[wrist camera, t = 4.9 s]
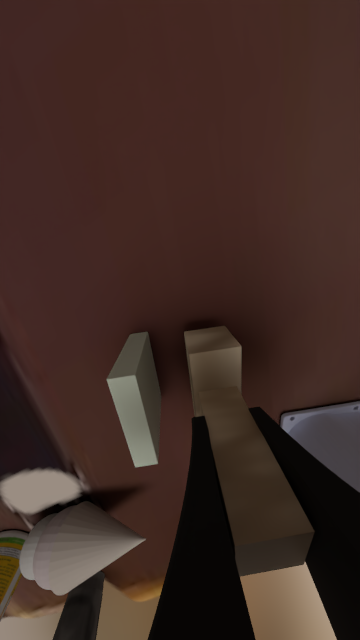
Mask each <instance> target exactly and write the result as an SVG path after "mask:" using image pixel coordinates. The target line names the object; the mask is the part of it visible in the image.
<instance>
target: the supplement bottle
mask: <svg viewBox="0 0 360 640" xmlns="http://www.w3.org/2000/svg"><path fill="white" fill-rule="evenodd" d="M28 535H29V534H27V533H25V532H22V531H17V530H9V531H4V532H0V621H1V618H2V616H3V614H4V612H5V610H6V608H7V606H8V604H9V601H10V599H11V597H12V595H13V593H14V591H15V589H16V586H17V584H18V582H19V580H20V578H21V576H22V573H21V570H20V565H19V560H20V554H21V550H22V547H23V545H24V542H25V540H26V538H27V537H28Z"/></svg>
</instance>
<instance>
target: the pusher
mask: <svg viewBox="0 0 360 640" xmlns="http://www.w3.org/2000/svg"><path fill="white" fill-rule="evenodd" d="M184 337H185V345H186V353H187V361H188V368H189V376H190V384H191V392H192V400H193V407H194V414H195V417H198V416H205V419H206V422H207V426H208V429H209V436H210V442H211V449H212V455H213V461H214V468H215V474H216V480H217V485H218V490H219V495H220V499H221V503H222V507H223V511H224V515H225V520H226V524H227V528H228V532H229V536H230V540H231V544H232V548H233V552H234V556H235V560H236V564H237V568H238V572H239V576H245V575H250V574H256V573H261V572H266V571H271V570H277V569H283V568H288V567H293V566H299V565H303V564H304V562H305V559H306V556H307V553H308V550H309V547H310V544H311V541H312V538H313V535H314V532H315V531H314V529H313V527H312V526H311V524H310V522H309V520H308V518H307V516H306V514H305V513H304V511H303V509H302V507H301V505H300V503H299V501H298V500H297V498H296V496H295V494H294V492H293V490H292V488H291V487H290V485H289V483H288V481H287V479H286V477H285V475H284V473H283V472H282V470H281V468H280V466H279V464H278V462H277V460H276V459H275V457H274V455H273V453H272V451H271V449H270V447H269V446H268V444H267V442H266V440H265V438H264V436H263V434H262V433H261V431H260V430H259V428H258V426H257V425H256V423H255V421H254V419H253V417H252V415H251V413H250V411H249V410H248V409H249V408H248V406H247V405H246V403H245V401H244V399H243V397H242V395H241V365H242V346H241V345H240V344H239V343H238V341H237V340H236V339H235V338H234V337H233V335H232V334H231V333H230V332H229V330H228V329H227V328H226V327H225V326H220V327H213V328H206V329H199V330H192V331H185V332H184Z"/></svg>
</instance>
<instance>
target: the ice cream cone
mask: <svg viewBox="0 0 360 640" xmlns="http://www.w3.org/2000/svg"><path fill="white" fill-rule="evenodd" d="M144 540H146V539H145V538H144V537H142V536H141V535H139V534H138V533H136V532H135V531H133V530H132V529H130V528H129V527H127V526H126V525H124V524H123V523H121V522H120V521H118V520H117V519H115V518H114V517H112V516H111V515H109V514H108V513H106V512H105V511H103V510H102V509H100V508H99V507H97V506H96V505H94V504H93V503H91V502H89V501H84V502H81V503H80V504H78V505H74V506H70V507H68V508H66V509H64V510H62V511H61V512H59V513H54V514H51V515H48V516H47V517H45V518H43V519H42V520H41V521H40V522H39V523H38V524H37V525H36V526H35V527H34V528H33V529H32V530H31V532H30V533H29V535H28V537H27V538H26V540H25V542H24V545H23V547H22V550H21V554H20V560H19V565H20V570H21V573H22V575H23V576H24V577H25V578H27V579H29V580H35V581H36V582H37V584H38V585H39V586H40V587H42V588H43V589H46V590H52V591H53V593H54V594H56V595H63V594H66V593H68V592H69V591H71V590H72V589H73V588H75V587H76V586H78V585H79V584H81V583H82V582H84V581H85V580H87V579H88V578H90V577H91V576H93V575H94V574H96V573H97V572H98V571H100V570H101V569H103V568H104V567H106V566H107V565H109V564H110V563H112V562H113V561H115V560H116V559H118V558H119V557H121V556H122V555H124V554H125V553H126V552H128V551H129V550H131V549H132V548H134V547H135V546H137V545H138V544H140V543H141V542H143V541H144Z"/></svg>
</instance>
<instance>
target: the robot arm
mask: <svg viewBox="0 0 360 640" xmlns="http://www.w3.org/2000/svg"><path fill="white" fill-rule="evenodd" d="M248 410H249V411H250V413H251V415H252V417H253V419H254V421H255V423H256V425H257V426H258V428H259V430H260V431H261V433H262V434H263V436H264V438H265V440H266V442H267V444H268V446H269V447H270V449H271V451H272V453H273V455H274V457H275V459H276V460H277V462H278V464H279V466H280V468H281V470H282V472H283V473H284V475H285V477H286V479H287V481H288V483H289V485H290V487H291V488H292V490H293V492H294V494H295V496H296V498H297V500H298V501H299V503H300V505H301V507H302V509H303V511H304V513H305V514H306V516H307V518H308V520H309V522H310V524H311V526H312V527H313V529H314V531H315V532H314V535H313V538H312V541H311V544H310V547H309V550H308V553H307V556H306V559H305V562H306V564H307V566H308V569H309V571H310V574H311V576H312V578H313V581H314V583H315V586H316V588H317V591H318V593H319V596H320V598H321V601H322V603H323V606H324V608H325V611H326V613H327V616H328V618H329V620H330V623H331V626H332V628H333V630H334V633H335V636H336V638H337V640H360V401H357V402H351V403H345V404H339V405H333V406H326V407H320V408H314V409H308V410H302V411H296V412H290V413H284V414H283V415H282V416H281V424H280V426H279V425H278V424H277V423H276V422H275V421H274V420H273V419H272V418H271V417H270V416H269V415H268V414H267V413H266V412H265V411H264V410H262V409H261V408H260V407H255V408H249V409H248ZM148 640H255V636H254V632H253V628H252V624H251V620H250V616H249V612H248V608H247V604H246V600H245V596H244V592H243V588H242V584H241V581H240V576H239V572H238V568H237V564H236V560H235V556H234V552H233V548H232V544H231V540H230V536H229V532H228V528H227V524H226V520H225V515H224V511H223V507H222V503H221V499H220V495H219V490H218V485H217V480H216V474H215V468H214V461H213V455H212V449H211V442H210V436H209V429H208V426H207V422H206V419H205V416H198V417H193V418H192V447H191V457H190V466H189V472H188V479H187V485H186V491H185V496H184V502H183V507H182V511H181V516H180V521H179V525H178V529H177V534H176V538H175V542H174V546H173V550H172V554H171V558H170V562H169V566H168V570H167V573H166V577H165V581H164V584H163V588H162V592H161V595H160V599H159V602H158V606H157V610H156V614H155V617H154V620H153V624H152V627H151V630H150V634H149V637H148Z"/></svg>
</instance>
